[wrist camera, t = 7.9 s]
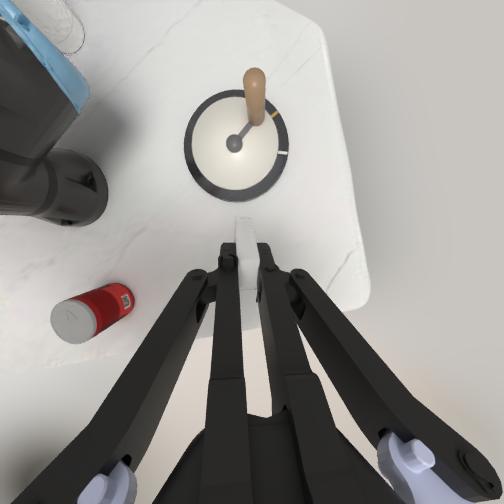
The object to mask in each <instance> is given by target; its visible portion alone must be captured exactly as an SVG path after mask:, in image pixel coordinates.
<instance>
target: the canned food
mask: <svg viewBox="0 0 504 504" xmlns="http://www.w3.org/2000/svg"><path fill="white" fill-rule="evenodd" d="M133 306H134V298H133V295H132V293H131V291H130V290H129V289H128V288H127V287H125V286H124V285H121V284H108V285H105V286H102V287H100V288H97V289H94V290H92V291H89V292H86V293H83V294H81V295H78V296H75V297H72V298H70V299H67V300H64V301H62V302H60V303H58V304H57V305H56V306H55V307H54V308H53V310H52V312H51V318H50V319H51V325H52V328H53V330H54V331H55V333H56V334H57V335H58V336H59V337H60V338H61V339H62V340H64V341H66V342H68V343H71V344H81V343H84V342H86V341H88V340H89V339H91V338H93V337H94V336H96V335H97V334H99V333H100V332H102V331H104V330H105V329H107V328H108V327H110V326H111V325H113V324H114V323H116V322H117V321H119V320H120V319H122V318H123V317H125V316H126V315H128V314H129V313H130V311H131V310H132V308H133Z"/></svg>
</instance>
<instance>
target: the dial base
mask: <svg viewBox="0 0 504 504" xmlns="http://www.w3.org/2000/svg"><path fill="white" fill-rule="evenodd" d="M228 97H243V98H245V92H244V90H228V91H224V92H220V93H218V94H216V95H213V96H212V97H210V98H209V99H207V100H206V101H205V102H203V103H202V104H201V105H200V106H199V107H198V108H197V110H196V111H195V112H194V114H193V115H192V117H191V119H190V121H189V123H188V126H187V129H186V133H185V138H184V154H185V159H186V163H187V166H188V169H189V171H190V173H191V175H192V176H193V178H194V179H195V181H196V182H197V183H198V184H199V185H200V186H201V188H203V189H204V190H205V191H206V192H208V193H209V194H211V195H213V196H214V197H216V198H219V199H221V200H225V201H229V202H245V201H249V200H252V199H255V198H257V197H259V196H261V195H263V194H264V193H266V192H267V191H268V190H269V189H270V188H271V187H272V186H273V185H274V184H275V183H276V182H277V180H278V179H279V177H280V175H281V174H282V171H283V169H284V167H285V164H286V160H287V156H288V147H289V142H288V134H287V129H286V126H285V123H284V121H283V119H282V117H281V115H280V114H279V112H278V111H277V109H276V108H275V107H274V106H273V105H272V104H271V103H270V102H269V101H268V100H266V99H265V110H266V111H267V112H268V113H269V115H270V116H271V118H272V119H273V121H274V124H275V126H276V129H277V133H278V152H277V157H276V160H275V163H274V165H273V167H272V169H271V171H270V172H269V173H268V175H267V176H266V177H265V178H264V179H263V180H262V181H261V182H259V183H258V184H256V185H255V186H252V187H250V188H247V189H244V190H227V189H223V188H221V187H218V186H216V185H215V184H213V183H212V182H210V181H209V180H208V179H207V178H206V177H205V176H204V175H203V174H202V173H201V171H200V170H199V168H198V167H197V164H196V162H195V160H194V157H193V152H192V135H193V131H194V127H195V125H196V123H197V120H198V119H199V117H200V116H201V114H202V113H203V112H204V111H205V110H206V109H207V108H208V107H209V106H210V105H212V104H213V103H215V102H217V101H219V100H221V99H224V98H228Z"/></svg>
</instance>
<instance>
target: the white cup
mask: <svg viewBox="0 0 504 504" xmlns="http://www.w3.org/2000/svg"><path fill="white" fill-rule="evenodd" d="M11 1H12V2H13V3H14V4H15V5H16V6H17V7H18V8H19V9H20V10H21V11H22V13H23V14H24V15H25V16H26V17H27V18H28V19H29V20H30V21H31V22H32V23H33V24H34V25H35V26H36V27H37V28H38V29H39V30H40V31H41V32H42V33H43V34H44V35H45V36H46V37H47V38H48V39H49V40H50V41H51V42H52V43H53V44H54V45H55V47H56V48H57V49H59V50H60V51H62V52H63V53H70V54H71V53H73V52H76V51H78V50H79V48H80V47H81V46H82V44H83V40H84V31H83V27H82V25H81V23H80V21H79V20H78V18H77V17H76V16H75V15H74V14H73V12H72V11H71V10H70V9H69V8H68V6H67V5H66V3H65V2H64V1H63V0H11Z"/></svg>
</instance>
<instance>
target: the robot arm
mask: <svg viewBox="0 0 504 504" xmlns="http://www.w3.org/2000/svg"><path fill="white" fill-rule="evenodd" d="M89 95H90V89H89V85H88V83H87V81H86V79H85V78H84V76H83V75H82V74H81V73H80V72H79V71H78V70H77V69H76V68H75V66H74V65H73V64H72V63H71V62H70V61H69V60H68V59H67V58H66V57H65V56H64V55H63V54H62V53H61V52H60V51H59V50H58V49H57V48H56V47H55V45H54V44H53V43H52V42H51V41H50V40H49V39H48V38H47V37H46V36H45V35H44V34H43V33H42V32H41V31H40V30H39V29H38V28H37V27H36V26H35V25H34V24H33V23H32V22H31V21H30V20H29V19H28V18H27V17H26V16H25V15H24V14H23V13H22V11H21V10H20V9H19V8H18V7H17V6H16V5H15V4H14V3H13V2H12V1H11V0H0V215H21V216H32V217H35V218H38V219H41V220H45V221H48V222H51V223H54V224H57V225H61V226H85V225H88V224H90V223H92V222H94V221H95V220H96V219H98V218H99V217H100V215H101V214H102V213H103V211H104V209H105V207H106V204H107V199H108V188H107V183H106V180H105V177H104V175H103V173H102V171H101V170H100V168H99V167H98V166H97V165H96V164H95V163H94V162H93V161H92V160H91V159H89V158H88V157H86V156H84V155H81V154H79V153H76V152H74V151H71V150H67V149H59V148H53V147H54V145H55V144H56V143H57V141H58V140H59V139H60V138H61V136H62V135H63V134H64V132H65V131H66V130H67V128H68V127H69V126H70V125H71V123H72V122H73V121H74V119H75V118H76V117H77V116H78V115H80V113H81V108H82V107H83V105H84V104H85V102H86V101H87V99H88V98H89ZM256 288H257V289H258V290H257V298H256V302H258V306H259V313H260V320H261V327H262V334H263V341H264V348H265V355H266V362H267V368H268V376H269V383H270V389H271V397H272V416H271V417H268V418H264V417H260V416H256V415H251V414H247V402H246V386H245V378H244V370H243V351H242V332H241V314H240V295H239V290H256ZM215 301H216V307H215V320H214V333H213V347H212V361H211V373H210V380H209V385H208V397H207V410H206V421H205V428H204V429H203V430H202V431H201V432H200V433H199V434H198V435H197V436H196V437H195V438H194V439H193V440H192V442H191V443H190V445H189V446H188V448H187V449H186V451H185V452H184V454H183V455H182V457H181V459H180V460H179V462H178V463H177V465H176V467H175V468H174V470H173V471H172V473H171V474H170V476H169V477H168V479H167V481H166V482H165V484H164V485H163V487H162V488H161V490H160V492H159V493H158V495H157V496H156V498H155V500H154V501H153V503H152V504H475V503H477V502H481V501H489V500H495V499H500V497H501V495H502V493H503V491H502V485H501V481H500V479H499V477H498V475H497V473H496V471H495V469H494V468H493V467H492V466H491V464H490V463H489V461H488V460H487V459H486V458H485V457H484V456H483V455H482V454H481V453H480V452H479V451H478V450H477V449H476V448H475V447H474V446H473V445H471V444H470V443H469V442H468V441H466V440H465V439H464V438H463V437H462V436H460V435H459V434H458V433H457V432H456V431H454V430H453V429H452V428H451V427H450V426H448V425H447V424H446V423H445V422H444V421H442V420H441V419H440V418H439V417H437V416H436V415H435V414H434V413H433V412H431V411H430V410H429V409H428V408H427V407H425V406H424V405H423V404H422V403H420V402H419V401H418V400H417V399H416V398H414V397H413V396H412V394H411V393H410V392H409V391H408V390H407V389H406V387H405V386H404V385H403V384H402V383H401V381H400V380H399V379H398V378H397V377H396V376H395V374H394V373H393V372H392V371H391V370H390V369H389V368H388V366H387V365H386V364H385V363H384V361H383V360H382V359H381V358H380V357H379V356H378V354H377V353H376V352H375V351H374V350H373V349H372V347H371V346H370V345H369V344H368V343H367V341H366V340H365V339H364V338H363V337H362V336H361V334H360V333H359V332H358V331H357V330H356V329H355V327H354V326H353V325H352V324H351V323H350V321H349V320H348V319H347V318H346V317H345V316H344V314H343V313H342V312H341V311H340V310H339V309H338V307H337V306H336V305H335V304H334V303H333V301H332V300H331V299H330V298H329V297H328V296H327V294H326V293H325V292H324V291H323V290H322V289H321V287H320V286H319V285H318V284H317V283H316V281H315V280H314V279H313V278H312V277H311V276H310V274H309V273H308V272H306V271H305V270H303V269H293V270H292V271H291V273H288V272H284V271H281V270H279V267H278V266H277V265H276V264H275V263H274V259H273V256H272V253H271V249H270V246H269V245H268V244H267V243H256V238H255V233H254V228H253V223H252V218H247V217H235V241H234V243H223V244H222V245H221V249H220V256H219V258H218V269H216V270H215V271H213V272H209V273H207V272H206V271H205V270H202V269H194V270H192V271H190V272H188V273H187V275H186V276H185V278H184V279H183V281H182V282H181V284H180V285H179V287H178V289H177V290H176V292H175V293H174V295H173V296H172V298H171V299H170V301H169V302H168V304H167V305H166V307H165V308H164V310H163V311H162V313H161V314H160V316H159V318H158V319H157V321H156V322H155V324H154V325H153V327H152V328H151V330H150V331H149V333H148V334H147V336H146V337H145V339H144V340H143V342H142V343H141V345H140V347H139V348H138V350H137V351H136V353H135V354H134V356H133V357H132V359H131V360H130V362H129V364H128V365H127V366H126V368H125V370H124V371H123V373H122V374H121V376H120V377H119V379H118V380H117V382H116V383H115V385H114V386H113V388H112V389H111V391H110V392H109V394H108V395H107V397H106V399H105V400H104V402H103V403H102V405H101V406H100V408H99V409H98V411H97V412H96V414H95V415H94V417H93V418H92V420H91V421H90V423H89V424H88V425H87V427H85V429H84V430H82V431H81V432H80V434H79V435H78V436H77V437H76V438H75V439H74V440H73V441H72V442H71V443H70V444H69V445H68V446H67V447H66V448H65V449H64V450H63V451H62V452H61V453H60V454H59V455H58V456H57V457H56V458H55V459H54V460H53V461H52V462H51V463H50V464H49V465H48V466H47V467H46V468H45V469H44V470H43V471H42V472H41V473H40V474H39V475H38V476H37V478H36V479H35V480H34V481H33V482H32V483H31V484H30V485H29V486H28V487H27V488H26V489H25V490H24V491H23V492H22V493H21V494H20V495H19V496H18V497H17V498H16V499H15V500H14V501H13V502H12V503H11V504H134V502H135V498H136V494H137V480H136V477H135V475H134V472H135V471H136V469H137V467H138V465H139V463H140V462H141V460H142V458H143V456H144V455H145V453H146V451H147V449H148V447H149V444H150V442H151V440H152V438H153V436H154V434H155V431H156V429H157V427H158V424H159V422H160V420H161V417H162V415H163V412H164V410H165V408H166V405H167V403H168V401H169V398H170V395H171V394H172V391H173V389H174V386H175V384H176V382H177V380H178V377H179V375H180V372H181V370H182V368H183V365H184V363H185V361H186V358H187V356H188V354H189V351H190V349H191V346H192V344H193V342H194V339H195V337H196V335H197V332H198V330H199V328H200V325H201V323H202V321H203V318H204V316H205V313H206V311H207V309H208V306H209V303H211V302H215ZM296 323H297V324H296ZM297 325H298V326H299V328H300V330H301V331H302V333H303V335H304V336H305V338H306V340H307V341H308V343H309V345H310V346H311V348H312V350H313V351H314V353H315V355H316V357H317V358H318V360H319V362H320V363H321V365H322V367H323V368H324V370H325V372H326V373H327V375H328V377H329V378H330V380H331V382H332V383H333V385H334V387H335V388H336V390H337V392H338V393H339V395H340V397H341V398H342V400H343V402H344V403H345V405H346V407H347V409H348V410H349V412H350V414H351V415H352V417H353V419H354V420H355V422H356V423H357V425H358V426H359V428H360V429H361V431H362V432H363V434H364V435H365V436H366V437H367V439H368V440H369V442H370V443H371V444H372V445H373V447H374V448H375V449H376V450H377V457H378V467H379V469H380V471H381V473H382V474H383V476H384V477H385V478H387V479H388V480H389V481H390V483H391V485H392V486H393V489H394V490H393V489H392V488H391V487H390V486H389V484H388V483H386V481H385V480H384V479H383V478H382V477H381V476H380V475H379V474H378V472H377V471H376V470H375V469H374V468H373V467H372V466H371V465H370V464H369V463H368V461H367V460H366V459H365V458H364V457H363V456H362V455H361V454H360V453H359V452H358V450H357V449H356V448H355V447H354V446H353V445H352V444H351V443H350V442H349V441H348V439H347V438H346V437H345V436H344V435H343V434H342V433H341V432H340V431H339V430H338V429H337V428H336V426H335V423H334V420H333V417H332V414H331V411H330V408H329V405H328V402H327V399H326V396H325V393H324V390H323V387H322V385H321V382H320V379H319V377H318V376H317V374H315V373H313V372H312V370H311V368H310V365H309V362H308V359H307V355H306V352H305V349H304V346H303V343H302V340H301V336H300V333H299V330H298V327H297Z"/></svg>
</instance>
